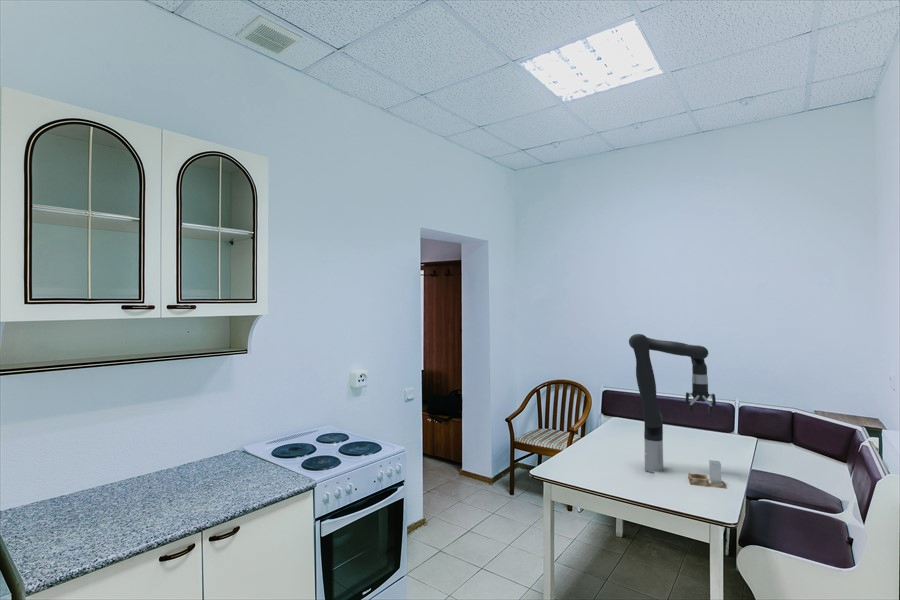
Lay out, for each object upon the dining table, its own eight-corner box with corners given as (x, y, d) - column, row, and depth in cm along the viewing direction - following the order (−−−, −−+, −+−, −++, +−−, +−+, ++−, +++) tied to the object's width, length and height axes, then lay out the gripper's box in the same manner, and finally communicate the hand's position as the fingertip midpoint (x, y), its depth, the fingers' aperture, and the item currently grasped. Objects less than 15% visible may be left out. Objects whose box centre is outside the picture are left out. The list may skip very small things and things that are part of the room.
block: (711, 483, 222) (710, 462, 223) (709, 479, 227) (709, 460, 227) (721, 484, 221) (720, 463, 221) (719, 481, 225) (719, 461, 225)
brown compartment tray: (690, 486, 222) (690, 478, 222) (687, 478, 232) (687, 470, 232) (727, 490, 216) (727, 482, 216) (723, 482, 226) (722, 474, 226)
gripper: (686, 382, 242) (686, 412, 241) (716, 384, 237) (717, 414, 236) (684, 380, 249) (685, 410, 248) (713, 382, 243) (714, 411, 243)
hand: (700, 412), depth 242 cm, fingers open, 8 cm apart
